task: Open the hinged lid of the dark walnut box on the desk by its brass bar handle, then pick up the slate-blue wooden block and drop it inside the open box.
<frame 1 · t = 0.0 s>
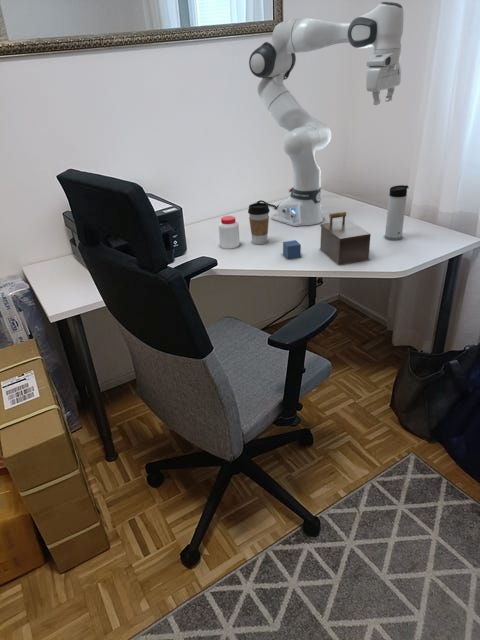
hand: (382, 103, 173), 48 cm above the table, tool pointing down, fingers open, 8 cm apart
pill bottle: (229, 245, 194), on the table
block: (291, 256, 181), on the table
chest: (343, 254, 180), on the table
lid: (344, 224, 174), point 11 cm above the table, hinge at 0.0°
travel mug: (393, 237, 192), on the table
coffee cup: (259, 242, 195), on the table
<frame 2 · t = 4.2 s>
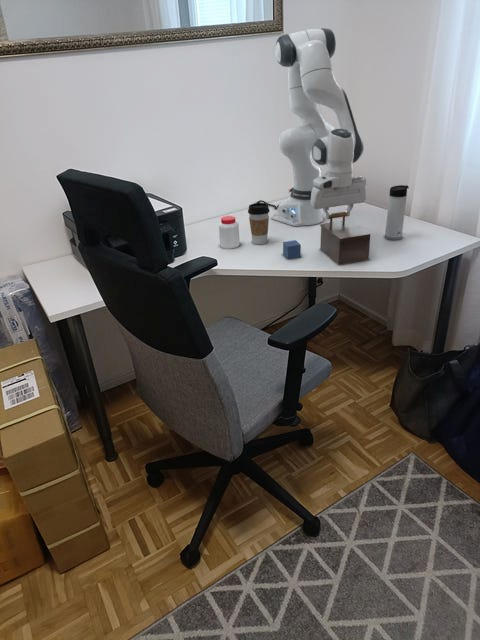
hand: (337, 217, 179), 12 cm above the table, tool pointing down, fingers closed on lid, 6 cm apart
lid: (344, 224, 174), point 11 cm above the table, hinge at 0.0°, touching gripper
everything else where it was.
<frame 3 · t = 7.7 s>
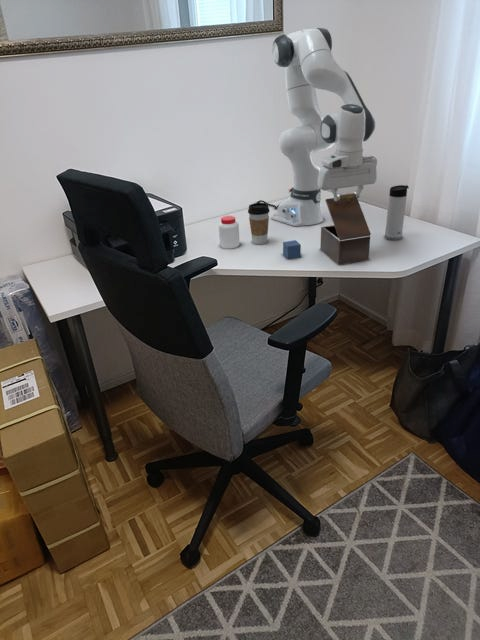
hand: (346, 199, 170), 20 cm above the table, tool pointing down, fingers closed on lid, 6 cm apart
lid: (349, 213, 169), point 16 cm above the table, hinge at 40.1°, touching gripper
everything else where it was.
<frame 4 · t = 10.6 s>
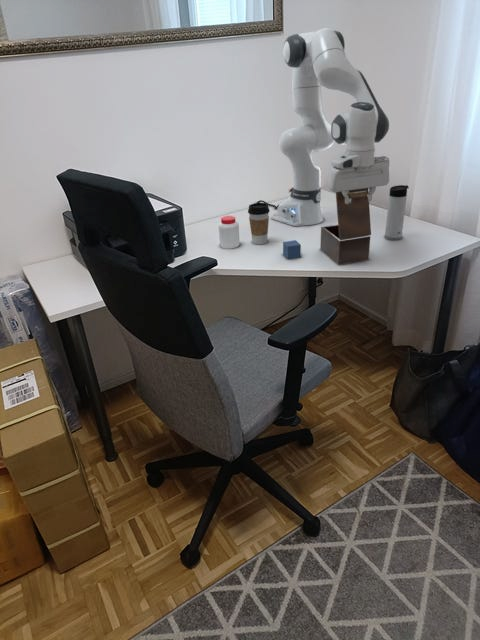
hand: (358, 202, 162), 22 cm above the table, tool pointing down, fingers closed on lid, 6 cm apart
lid: (356, 213, 165), point 18 cm above the table, hinge at 73.3°, touching gripper
everything else where it was.
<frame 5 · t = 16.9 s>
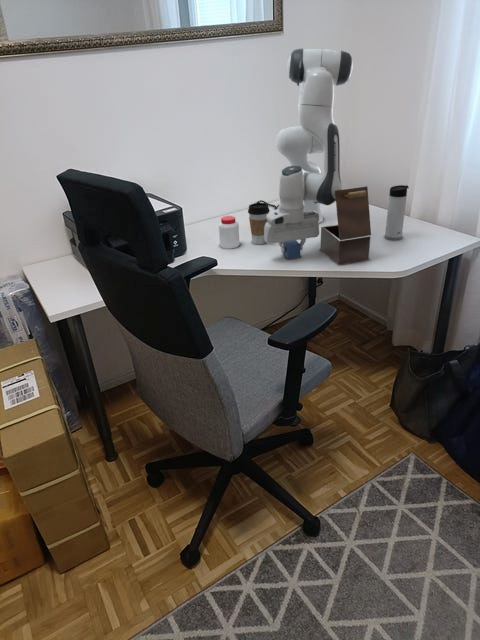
hand: (291, 251, 180), 2 cm above the table, tool pointing down, fingers closed on block, 5 cm apart
block: (291, 256, 181), on the table, touching gripper
lid: (356, 213, 165), point 18 cm above the table, hinge at 71.8°
everything else where it was.
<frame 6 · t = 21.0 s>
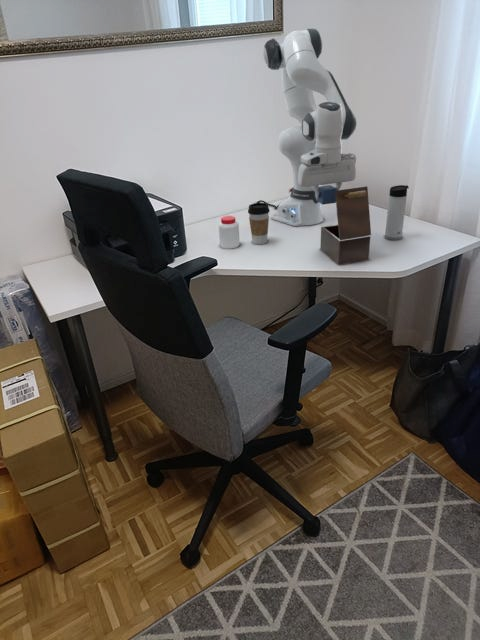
hand: (326, 196, 172), 21 cm above the table, tool pointing down, fingers closed on block, 5 cm apart
block: (326, 201, 173), point 19 cm above the table, touching gripper
everything else where it was.
when the fingers open (9 cm above the table, at t = 25.7 s): block stays where it is, resting on chest.
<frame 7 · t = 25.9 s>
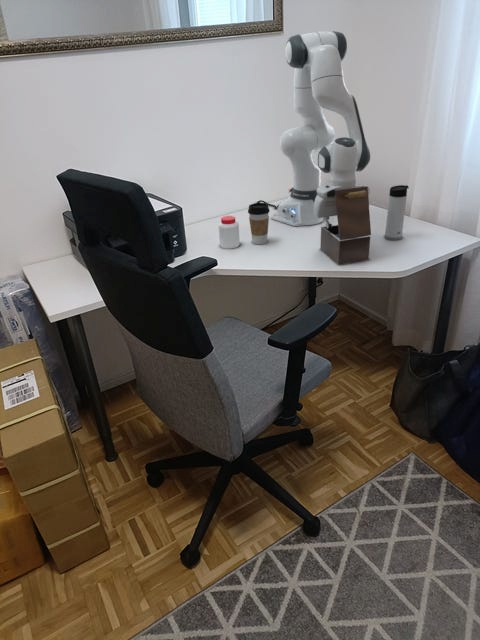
hand: (340, 225, 178), 10 cm above the table, tool pointing down, fingers open, 8 cm apart
block: (339, 248, 182), point 1 cm above the table, touching chest
everything else where it was.
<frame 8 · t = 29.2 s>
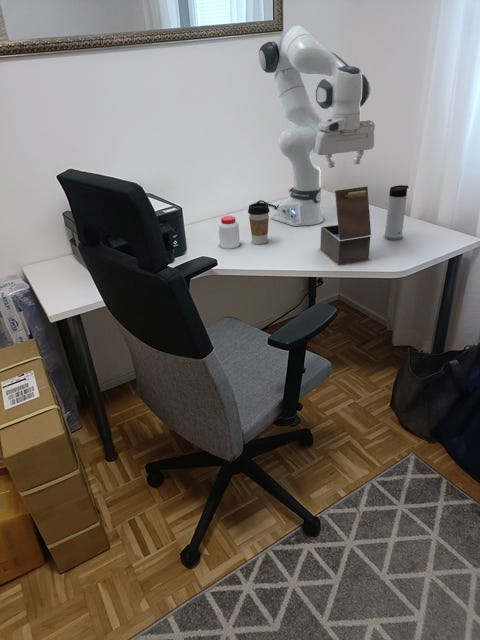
hand: (343, 165, 167), 31 cm above the table, tool pointing down, fingers open, 8 cm apart
nothing on the table moved.
at the end: lid at +72° (first picture: +0°); block inside the target area in the chest (3.5 cm from its centre), point 0.8 cm above the chest's base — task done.
